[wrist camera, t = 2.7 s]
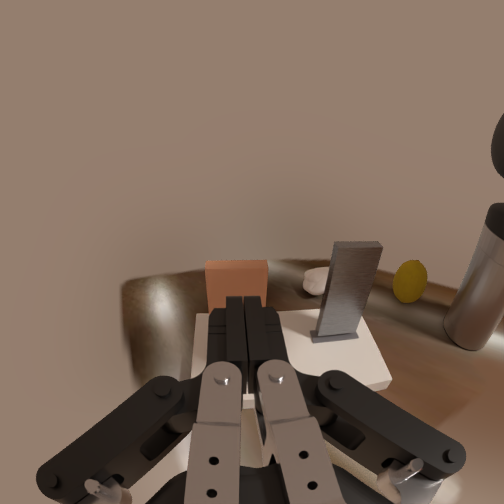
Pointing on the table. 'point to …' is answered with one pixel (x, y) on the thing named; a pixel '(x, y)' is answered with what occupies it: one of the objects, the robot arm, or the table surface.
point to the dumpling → (315, 280)
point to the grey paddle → (347, 286)
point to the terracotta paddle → (235, 280)
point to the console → (312, 350)
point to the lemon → (410, 281)
